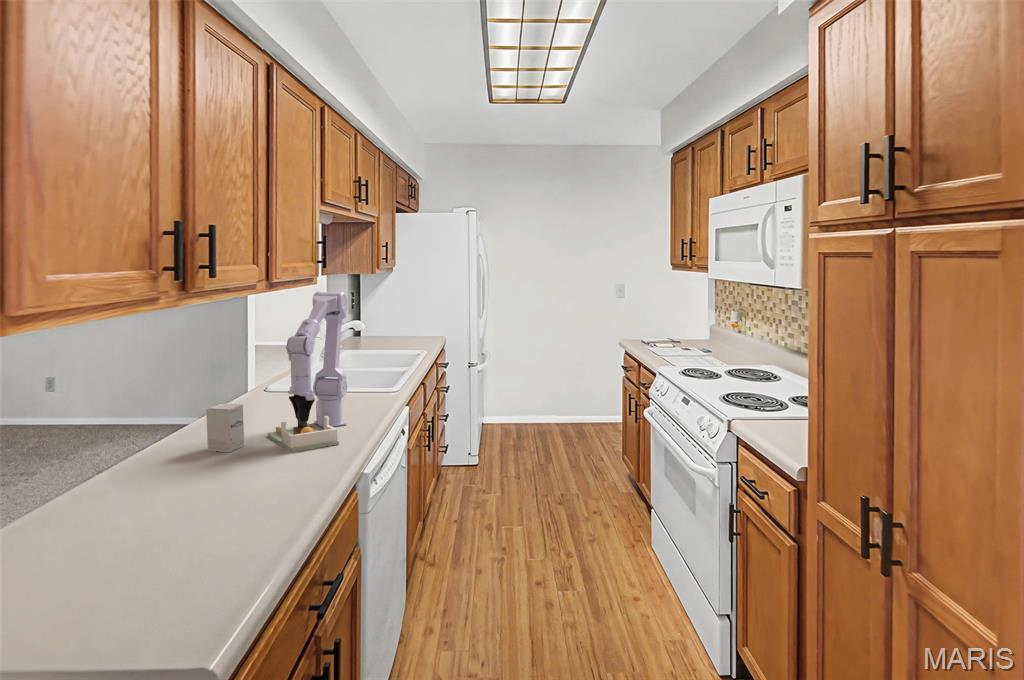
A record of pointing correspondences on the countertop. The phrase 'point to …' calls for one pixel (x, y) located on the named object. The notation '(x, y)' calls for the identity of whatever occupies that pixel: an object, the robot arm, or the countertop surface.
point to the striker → (300, 425)
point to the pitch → (305, 437)
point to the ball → (306, 430)
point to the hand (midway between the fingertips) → (302, 419)
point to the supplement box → (225, 427)
